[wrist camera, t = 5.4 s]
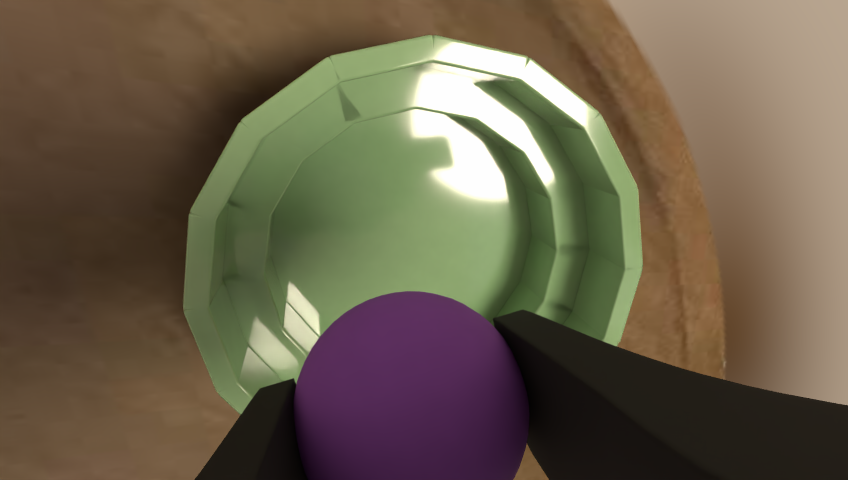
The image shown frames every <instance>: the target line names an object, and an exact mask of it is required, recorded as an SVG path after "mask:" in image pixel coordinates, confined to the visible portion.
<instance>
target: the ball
mask: <svg viewBox="0 0 848 480" xmlns="http://www.w3.org/2000/svg"><path fill="white" fill-rule="evenodd" d="M293 413H294V422H295V432H296V439H297V444H298V449H299V454H300V458H301V462H302V465H303V468H304V472H305V475H306V477H307V479H308V480H513V479H514V477H515V475H516V473H517V471H518V469H519V466H520V463H521V460H522V457H523V454H524V451H525V448H526V443H527V438H528V430H529V414H530V413H529V402H528V395H527V391H526V387H525V383H524V380H523V377H522V374H521V371H520V368H519V366H518V363H517V361H516V359H515V357H514V355H513V353H512V350H511V349H510V347H509V345H508V344H507V342H506V340H505V339H504V338H503V336H502V335H501V334H500V333H499V332H498V331H497V329H496V328H495V327H494V326H493V325H492V324H491V323H490V322H489V321H488V320H486V319H485V318H484V317H483V316H482V315H481V314H479V313H477V312H476V311H474V310H473V309H471V308H469V307H468V306H466V305H465V304H463V303H461V302H458V301H456V300H454V299H452V298H448V297H445V296H442V295H438V294H434V293H428V292H421V291H404V292H394V293H390V294H385V295H381V296H378V297H375V298H372V299H369V300H367V301H365V302H363V303H361V304H359V305H357V306H355V307H353V308H352V309H350V310H349V311H347V312H345V313H344V314H343V315H341V316H340V317H339V318H338V319H337V320H335V321H334V322H333V323H332V324H331V325H330V326H329V327H328V328H327V330H326V331H325V332H324V333H323V334H322V335H321V336H320V337H319V339H318V340H317V342H316V343H315V344H314V346H313V347H312V349H311V351H310V352H309V354H308V356H307V358H306V360H305V362H304V364H303V367H302V369H301V372H300V375H299V377H298V380H297V384H296V389H295V394H294V400H293Z"/></svg>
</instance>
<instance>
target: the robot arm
mask: <svg viewBox="0 0 848 480" xmlns="http://www.w3.org/2000/svg"><path fill="white" fill-rule="evenodd" d="M493 322H494V327H495V328H496V329H497V331H498V332H499V333H500V334H501V335H502V336H503V338H504V339H505V340H506V342H507V344H508V345H509V347H510V349H511V350H512V353H513V355H514V357H515V359H516V361H517V363H518V366H519V368H520V371H521V374H522V377H523V380H524V383H525V387H526V391H527V395H528V402H529V413H530V414H529V430H528V438H527V444H528V446H529V448H530V450H531V452H532V454H533V455H534V457H535V458H536V460H537V462H538V463H539V465H540V466H541V468H542V469H543V471H544V472H545V474H546V475H547V477H548V478H549V480H848V405H842V404H836V403H830V402H825V401H820V400H815V399H810V398H804V397H799V396H794V395H788V394H782V393H777V392H773V391H768V390H764V389H760V388H755V387H750V386H746V385H742V384H738V383H734V382H730V381H727V380H723V379H719V378H715V377H711V376H707V375H703V374H699V373H696V372H692V371H689V370H685V369H682V368H679V367H675V366H672V365H669V364H666V363H663V362H660V361H657V360H654V359H651V358H648V357H645V356H642V355H639V354H636V353H633V352H630V351H628V350H625V349H622V348H619V347H617V346H614V345H611V344H609V343H606V342H603V341H601V340H598V339H596V338H593V337H591V336H588V335H586V334H583V333H581V332H579V331H576V330H574V329H571V328H569V327H566V326H564V325H562V324H559V323H557V322H554V321H552V320H550V319H547V318H545V317H542V316H540V315H537V314H535V313H532V312H530V311H527V310H524V309H522V310H519V311H516V312H512V313H509V314H506V315H502V316H499V317H496V318H493ZM295 389H296V383H295V380H294V378H292V379H289V380H286V381H282V382H279V383H276V384H272V385H269V386H266V387H262V388H260V389H259V390H258V391H257V393H256V394H255V395H254V397H253V398H252V399H251V401H250V402H249V404H248V405H247V407H246V408H245V410H244V411H243V412H242V414H241V415H240V417H239V418H238V420H237V421H236V423H235V424H234V426H233V427H232V428H231V430H230V431H229V433H228V434H227V436H226V437H225V438H224V440H223V441H222V443H221V444H220V445H219V447H218V448H217V450H216V451H215V452H214V454H213V455H212V457H211V458H210V459H209V461H208V462H207V464H206V465H205V466H204V468H203V469H202V471H201V472H200V473H199V475H198V476H197V477H196V478H195V480H308V479H307V477H306V475H305V472H304V468H303V465H302V462H301V458H300V454H299V449H298V444H297V439H296V432H295V422H294V413H293V400H294V394H295Z"/></svg>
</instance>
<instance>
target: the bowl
mask: <svg viewBox="0 0 848 480" xmlns="http://www.w3.org/2000/svg"><path fill="white" fill-rule="evenodd" d="M642 267H643V260H642V244H641V228H640V213H639V197H638V188H637V185H636V183H635V181H634V179H633V177H632V175H631V173H630V171H629V169H628V167H627V165H626V163H625V161H624V159H623V157H622V155H621V153H620V151H619V149H618V147H617V145H616V143H615V141H614V139H613V137H612V135H611V133H610V131H609V129H608V127H607V125H606V123H605V121H604V119H603V117H602V115H601V114H600V113H599V112H598V111H597V110H596V109H595V108H594V107H592V106H591V105H590V104H589V103H587V102H586V101H585V100H583V99H582V98H581V97H580V96H578V95H577V94H576V93H575V92H573V91H572V90H571V89H570V88H568V87H567V86H566V85H564V84H563V83H562V82H561V81H559V80H558V79H557V78H556V77H554V76H553V75H552V74H551V73H549V72H548V71H547V70H545V69H544V68H543V67H542V66H540V65H539V64H538V63H537V62H535V61H534V60H533V59H532V58H528V57H527V56H526V55H522V54H517V53H513V52H509V51H504V50H500V49H495V48H491V47H487V46H482V45H478V44H474V43H469V42H465V41H461V40H456V39H452V38H448V37H443V36H439V35H425V36H420V37H415V38H411V39H406V40H401V41H396V42H392V43H387V44H382V45H377V46H373V47H368V48H363V49H358V50H354V51H349V52H344V53H339V54H335V55H331V56H329V57H326V58H324V59H323V60H322V61H320V62H319V63H317V64H316V65H315V66H313V67H312V68H311V69H309V70H308V71H307V72H305V73H304V74H302V75H301V76H300V77H298V78H297V79H296V80H294V81H293V82H291V83H290V84H289V85H287V86H286V87H285V88H283V89H282V90H281V91H279V92H278V93H276V94H275V95H274V96H272V97H271V98H270V99H268V100H267V101H266V102H264V103H263V104H261V105H260V106H259V107H257V108H256V109H255V110H253V111H252V112H251V113H249V114H248V115H246V116H245V117H244V118H242V119H241V122H239V123H238V125H237V126H236V128H235V130H234V132H233V134H232V135H231V137H230V139H229V141H228V143H227V144H226V146H225V148H224V150H223V152H222V153H221V155H220V157H219V159H218V161H217V162H216V164H215V166H214V168H213V170H212V171H211V173H210V175H209V177H208V179H207V180H206V182H205V184H204V186H203V188H202V189H201V191H200V193H199V195H198V196H197V198H196V200H195V202H194V204H193V205H192V207H191V209H190V214H189V215H188V230H187V246H186V262H185V279H184V295H183V309H184V314H185V317H186V319H187V322H188V324H189V327H190V329H191V331H192V334H193V336H194V339H195V341H196V344H197V346H198V348H199V351H200V353H201V356H202V358H203V360H204V363H205V365H206V368H207V370H208V373H209V375H210V377H211V380H212V382H213V385H214V387H215V390H216V391H217V392H218V394H219V395H220V396H221V397H222V398H223V399H224V400H225V401H226V402H227V403H228V404H229V405H230V406H232V407H233V408H234V409H235V410H236V411H237V412H238V413H239V414H240V415H241V414H242V412H243V411H244V410H245V408H246V407H247V405H248V404H249V402H250V401H251V399H252V398H253V397H254V395H255V394H256V393H257V391H258V390H259V389H260V388H262V387H266V386H269V385H272V384H276V383H279V382H282V381H286V380H289V379H292V378H294V380H295V383H296V384H297V380H298V377H299V375H300V372H301V369H302V367H303V364H304V362H305V360H306V358H307V356H308V354H309V352H310V351H311V349H312V347H313V346H314V344H315V343H316V342H317V340H318V339H319V337H320V336H321V335H322V334H323V333H324V332H325V331H326V330H327V328H328V327H329V326H330V325H331V324H332V323H333V322H334V321H335V320H337V319H338V318H339V317H340V316H341V315H343V314H344V313H345V312H347V311H349V310H350V309H352V308H353V307H355V306H357V305H359V304H361V303H363V302H365V301H367V300H369V299H372V298H375V297H378V296H381V295H385V294H390V293H394V292H404V291H421V292H428V293H434V294H438V295H442V296H445V297H448V298H452V299H454V300H456V301H458V302H461V303H463V304H465V305H466V306H468V307H469V308H471V309H473V310H474V311H476V312H477V313H479V314H481V315H482V316H483V317H484V318H485V319H486V320H488V321H489V322H490V323H491V324H492V325H493V326H494V322H493V318H496V317H499V316H502V315H506V314H509V313H512V312H516V311H519V310H522V309H524V310H527V311H530V312H532V313H535V314H537V315H540V316H542V317H545V318H547V319H550V320H552V321H554V322H557V323H559V324H562V325H564V326H566V327H569V328H571V329H574V330H576V331H579V332H581V333H583V334H586V335H588V336H591V337H593V338H596V339H598V340H601V341H603V342H606V343H609V344H611V345H614V346H617V345H618V342H620V340H621V337H622V334H623V331H624V327H625V324H626V321H627V318H628V315H629V311H630V308H631V305H632V302H633V298H634V295H635V292H636V289H637V286H638V282H639V279H640V276H641V273H642Z"/></svg>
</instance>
